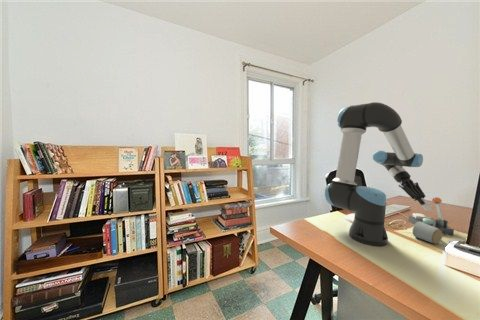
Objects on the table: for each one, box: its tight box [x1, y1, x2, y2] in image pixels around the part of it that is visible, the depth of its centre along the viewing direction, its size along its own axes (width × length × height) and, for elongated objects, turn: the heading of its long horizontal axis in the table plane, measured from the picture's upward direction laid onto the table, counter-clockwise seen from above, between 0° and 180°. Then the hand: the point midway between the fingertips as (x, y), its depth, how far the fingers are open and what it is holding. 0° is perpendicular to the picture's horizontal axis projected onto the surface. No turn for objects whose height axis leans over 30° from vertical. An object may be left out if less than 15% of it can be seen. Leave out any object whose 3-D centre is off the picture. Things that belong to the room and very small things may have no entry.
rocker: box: [412, 212, 427, 219], centre depth 110 cm, size 4×3×1 cm
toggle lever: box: [432, 196, 445, 224], centre depth 101 cm, size 3×3×14 cm
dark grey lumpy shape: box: [408, 215, 455, 236], centre depth 105 cm, size 11×16×6 cm
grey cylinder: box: [412, 222, 444, 245], centre depth 91 cm, size 11×8×8 cm
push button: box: [423, 218, 434, 225], centre depth 102 cm, size 4×4×2 cm
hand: (429, 209), depth 105 cm, fingers closed
